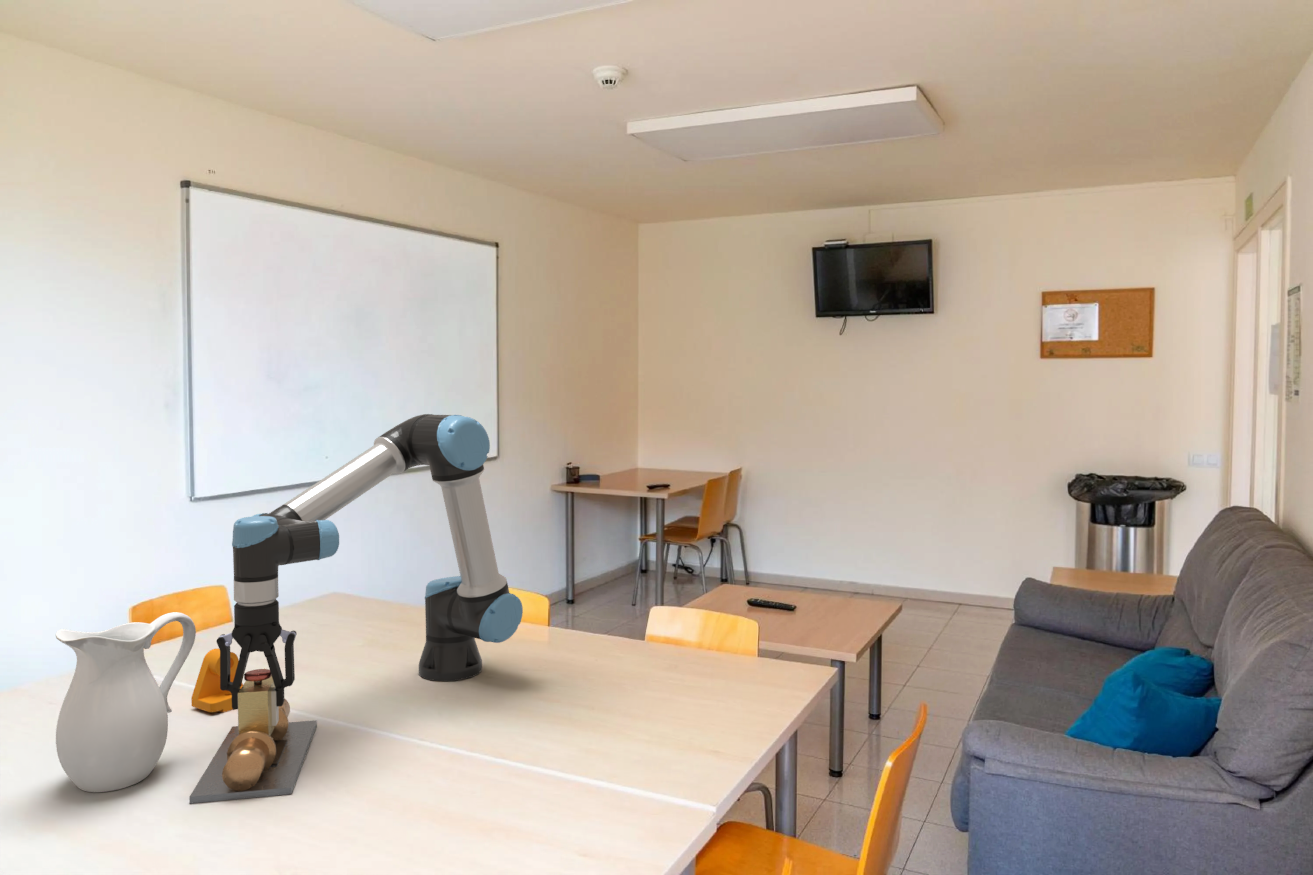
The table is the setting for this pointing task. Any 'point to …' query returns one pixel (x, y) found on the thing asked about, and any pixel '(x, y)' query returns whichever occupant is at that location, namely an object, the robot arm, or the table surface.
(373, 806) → the table surface
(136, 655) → the pitcher
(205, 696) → the bracket
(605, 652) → the table surface
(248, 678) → the valve
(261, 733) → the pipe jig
